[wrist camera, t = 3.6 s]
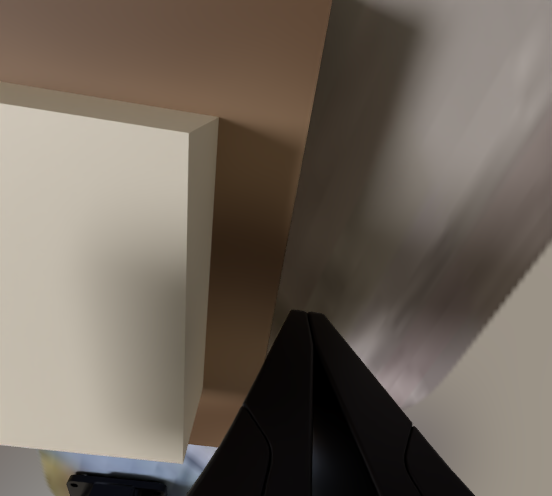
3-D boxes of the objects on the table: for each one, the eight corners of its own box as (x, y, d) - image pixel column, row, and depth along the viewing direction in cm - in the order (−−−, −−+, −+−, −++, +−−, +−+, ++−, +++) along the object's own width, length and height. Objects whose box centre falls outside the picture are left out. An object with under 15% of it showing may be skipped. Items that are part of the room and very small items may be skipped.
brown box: (255, 371, 16) (248, 450, 13) (19, 342, 16) (-58, 417, 12) (321, -17, 9) (347, -81, 5) (-122, -100, 8) (-421, -234, 5)
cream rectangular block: (202, 388, 11) (183, 463, 9) (28, 367, 11) (-38, 440, 9) (218, 117, 7) (188, 132, 5) (-65, 71, 7) (-240, 65, 4)
